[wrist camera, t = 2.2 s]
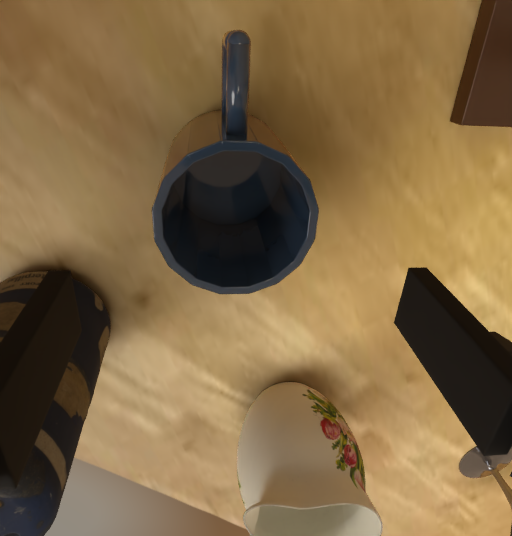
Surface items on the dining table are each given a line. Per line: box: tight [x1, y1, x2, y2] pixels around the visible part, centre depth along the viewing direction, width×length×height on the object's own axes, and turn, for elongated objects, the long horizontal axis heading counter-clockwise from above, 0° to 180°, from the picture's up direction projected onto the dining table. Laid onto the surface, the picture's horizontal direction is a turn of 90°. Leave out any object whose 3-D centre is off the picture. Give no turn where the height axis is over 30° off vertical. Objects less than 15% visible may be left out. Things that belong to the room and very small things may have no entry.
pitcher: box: [237, 382, 383, 536], centre depth 37 cm, size 11×18×14 cm, turn 39°
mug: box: [152, 30, 319, 294], centre depth 24 cm, size 13×9×10 cm, turn 177°
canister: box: [0, 272, 110, 536], centre depth 26 cm, size 10×10×18 cm
